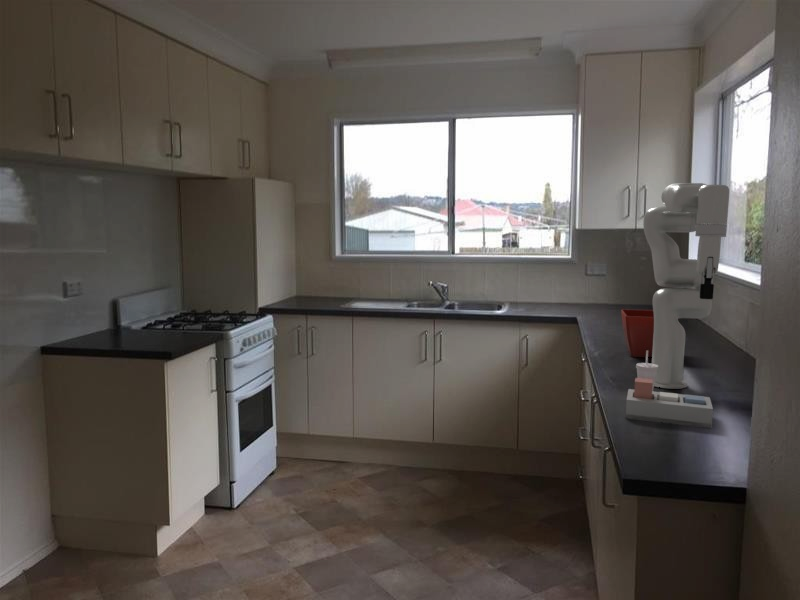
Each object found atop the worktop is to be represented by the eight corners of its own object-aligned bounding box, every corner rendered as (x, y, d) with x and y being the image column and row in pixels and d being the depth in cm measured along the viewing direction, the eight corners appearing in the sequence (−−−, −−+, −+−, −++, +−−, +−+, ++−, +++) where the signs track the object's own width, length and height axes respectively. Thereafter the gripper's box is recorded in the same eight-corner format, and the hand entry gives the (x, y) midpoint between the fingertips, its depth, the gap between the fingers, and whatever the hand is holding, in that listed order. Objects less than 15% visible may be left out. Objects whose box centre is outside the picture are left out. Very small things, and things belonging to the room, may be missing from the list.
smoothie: (651, 393, 199) (654, 349, 198) (660, 399, 193) (663, 353, 191) (630, 393, 199) (633, 348, 197) (639, 399, 193) (641, 353, 191)
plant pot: (623, 358, 250) (625, 315, 248) (618, 348, 269) (621, 308, 267) (676, 361, 246) (678, 317, 244) (667, 351, 264) (670, 310, 262)
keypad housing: (627, 406, 185) (628, 388, 184) (708, 415, 177) (709, 397, 176) (625, 418, 174) (626, 399, 173) (711, 428, 166) (712, 408, 165)
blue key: (684, 410, 176) (685, 394, 175) (702, 412, 174) (703, 396, 174) (685, 415, 172) (686, 398, 171) (703, 417, 170) (704, 400, 169)
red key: (634, 393, 180) (635, 377, 180) (651, 395, 178) (652, 379, 178) (633, 397, 176) (634, 381, 175) (651, 399, 174) (652, 383, 174)
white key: (658, 407, 178) (659, 391, 178) (676, 409, 177) (677, 393, 176) (658, 412, 174) (659, 395, 173) (676, 414, 172) (677, 397, 172)
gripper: (694, 230, 182) (689, 295, 184) (697, 231, 168) (692, 301, 170) (723, 231, 179) (719, 296, 181) (729, 231, 165) (723, 302, 168)
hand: (706, 298), depth 176 cm, fingers closed
